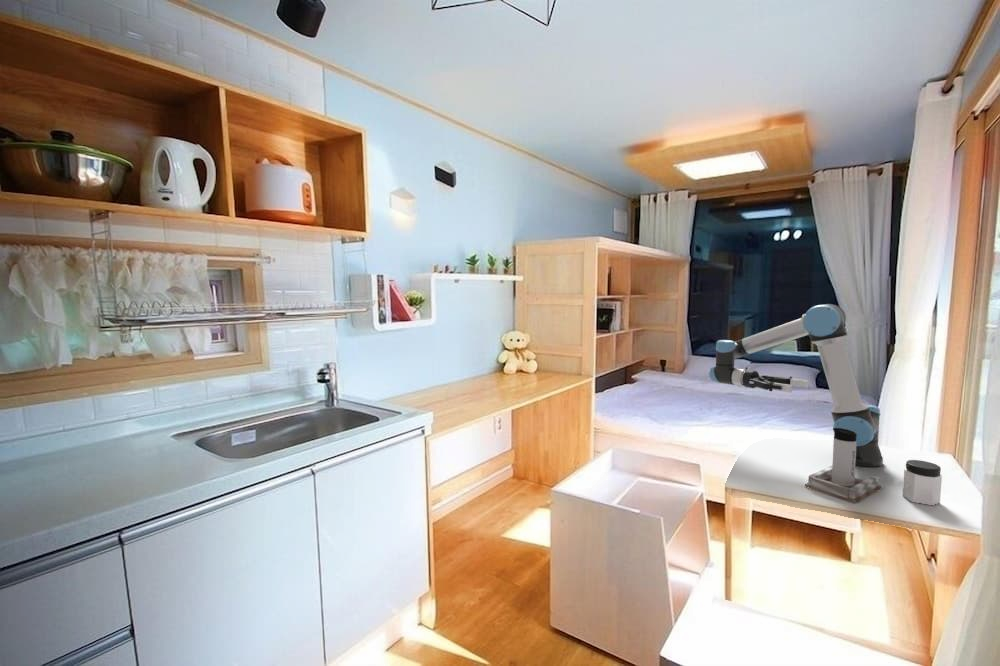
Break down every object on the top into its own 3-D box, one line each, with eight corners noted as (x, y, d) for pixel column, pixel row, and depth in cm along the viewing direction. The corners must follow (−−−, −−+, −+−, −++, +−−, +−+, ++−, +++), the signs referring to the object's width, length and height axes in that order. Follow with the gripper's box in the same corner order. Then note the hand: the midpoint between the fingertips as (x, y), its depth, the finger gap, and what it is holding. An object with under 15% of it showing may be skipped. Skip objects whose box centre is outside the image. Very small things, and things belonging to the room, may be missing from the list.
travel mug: (828, 480, 160) (830, 425, 158) (850, 482, 157) (853, 427, 156) (833, 487, 154) (836, 431, 152) (856, 490, 152) (860, 433, 150)
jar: (896, 493, 151) (898, 458, 150) (923, 494, 150) (926, 459, 149) (917, 505, 142) (920, 469, 141) (946, 506, 141) (949, 470, 140)
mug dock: (832, 474, 167) (832, 463, 167) (881, 488, 154) (882, 477, 154) (804, 486, 157) (805, 475, 157) (855, 503, 144) (855, 491, 144)
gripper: (761, 383, 200) (814, 391, 182) (729, 390, 187) (783, 400, 169) (761, 366, 199) (815, 373, 182) (730, 373, 186) (784, 381, 168)
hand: (800, 386), depth 175 cm, fingers open, 13 cm apart
